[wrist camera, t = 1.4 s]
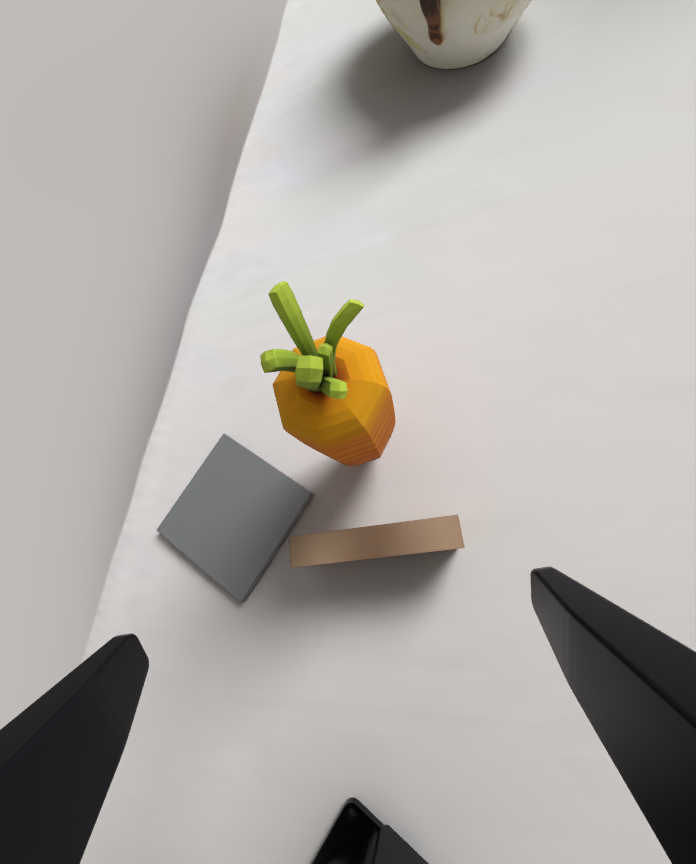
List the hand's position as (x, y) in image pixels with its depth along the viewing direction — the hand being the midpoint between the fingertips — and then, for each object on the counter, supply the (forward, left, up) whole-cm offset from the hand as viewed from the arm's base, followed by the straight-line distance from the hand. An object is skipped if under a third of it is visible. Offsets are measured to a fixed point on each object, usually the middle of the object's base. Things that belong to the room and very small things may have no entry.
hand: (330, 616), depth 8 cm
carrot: (+6, +5, -15) cm, 17 cm away
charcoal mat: (-3, +11, -15) cm, 19 cm away
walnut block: (+1, +1, -15) cm, 15 cm away
